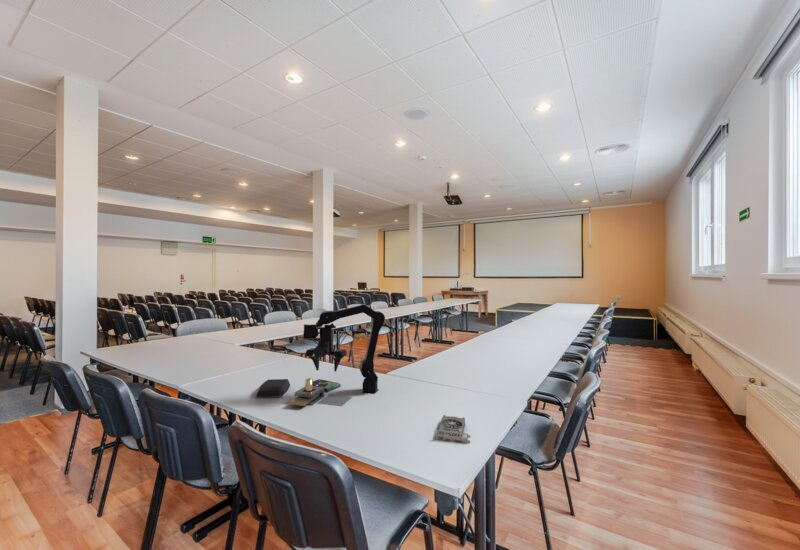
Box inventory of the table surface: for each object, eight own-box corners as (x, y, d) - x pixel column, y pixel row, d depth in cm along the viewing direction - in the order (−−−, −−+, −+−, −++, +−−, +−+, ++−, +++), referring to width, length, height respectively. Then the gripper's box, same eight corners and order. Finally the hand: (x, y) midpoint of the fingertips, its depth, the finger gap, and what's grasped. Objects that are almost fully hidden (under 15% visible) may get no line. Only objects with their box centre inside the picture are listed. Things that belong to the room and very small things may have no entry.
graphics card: (470, 435, 116) (434, 430, 119) (469, 446, 115) (434, 441, 119) (472, 416, 132) (441, 412, 135) (472, 426, 132) (441, 422, 135)
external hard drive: (253, 399, 158) (253, 390, 158) (265, 386, 177) (265, 378, 177) (282, 398, 159) (282, 389, 159) (291, 385, 178) (291, 377, 178)
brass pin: (313, 400, 156) (313, 378, 156) (310, 403, 153) (310, 380, 153) (307, 400, 156) (307, 378, 156) (304, 402, 153) (304, 379, 154)
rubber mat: (352, 397, 160) (352, 396, 160) (341, 407, 148) (341, 406, 148) (329, 395, 163) (329, 394, 163) (316, 404, 151) (316, 403, 151)
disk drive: (304, 389, 173) (327, 394, 166) (304, 384, 173) (327, 388, 166) (318, 384, 182) (341, 388, 175) (318, 378, 182) (341, 382, 175)
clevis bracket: (307, 396, 162) (307, 385, 162) (324, 397, 159) (324, 387, 159) (287, 408, 146) (287, 396, 146) (305, 410, 144) (305, 398, 144)
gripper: (299, 340, 157) (299, 374, 157) (336, 341, 153) (337, 377, 153) (311, 336, 168) (311, 368, 168) (346, 337, 163) (347, 370, 163)
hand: (326, 370), depth 163 cm, fingers open, 9 cm apart
